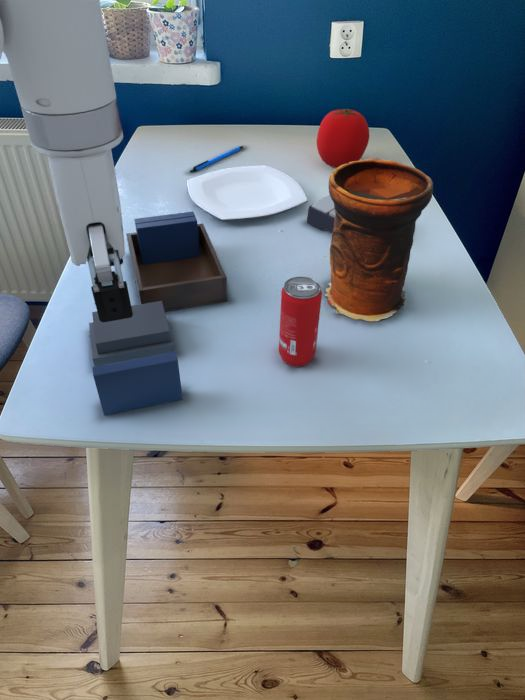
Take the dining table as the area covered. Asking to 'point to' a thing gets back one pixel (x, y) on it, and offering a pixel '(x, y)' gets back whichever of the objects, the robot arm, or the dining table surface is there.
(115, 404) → the blue book
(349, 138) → the tomato
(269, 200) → the plate
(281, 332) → the beverage can
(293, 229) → the dining table surface
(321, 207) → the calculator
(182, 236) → the blue books
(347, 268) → the vessel
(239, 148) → the pen
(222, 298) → the book box
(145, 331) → the grey books
